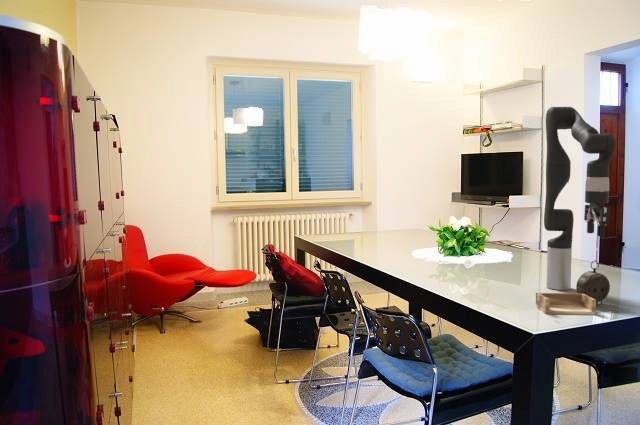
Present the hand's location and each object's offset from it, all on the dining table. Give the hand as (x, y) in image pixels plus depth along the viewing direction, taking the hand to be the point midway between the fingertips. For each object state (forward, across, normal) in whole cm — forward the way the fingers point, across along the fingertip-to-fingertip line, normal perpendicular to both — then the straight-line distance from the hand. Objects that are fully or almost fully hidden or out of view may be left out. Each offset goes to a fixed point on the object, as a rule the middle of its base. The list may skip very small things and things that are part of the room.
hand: (595, 234), depth 183 cm
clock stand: (+25, +10, -14) cm, 30 cm away
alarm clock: (+26, 0, 0) cm, 26 cm away
